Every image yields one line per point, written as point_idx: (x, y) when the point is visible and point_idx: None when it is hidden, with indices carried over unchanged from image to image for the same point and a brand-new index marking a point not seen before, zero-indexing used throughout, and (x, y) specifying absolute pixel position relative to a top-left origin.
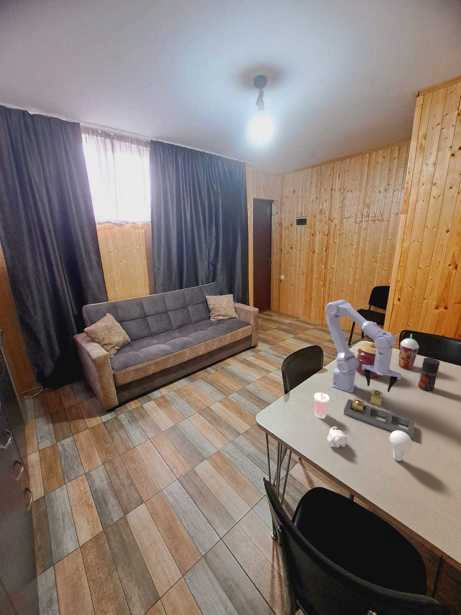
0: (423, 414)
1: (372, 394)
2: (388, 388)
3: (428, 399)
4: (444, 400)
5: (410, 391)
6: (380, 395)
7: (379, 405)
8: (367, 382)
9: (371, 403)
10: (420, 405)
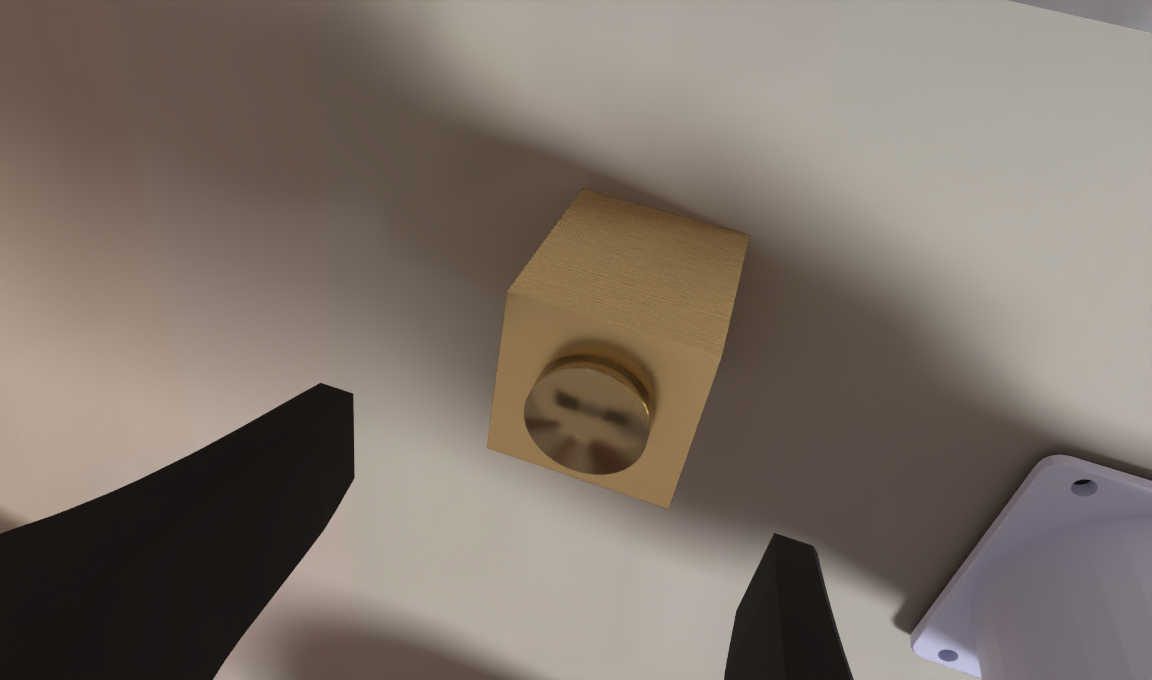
0: (67, 185)
1: (702, 341)
2: (265, 447)
3: (104, 472)
4: (3, 479)
5: None
6: (534, 334)
7: (593, 198)
8: (834, 646)
9: (726, 229)
10: (135, 358)
